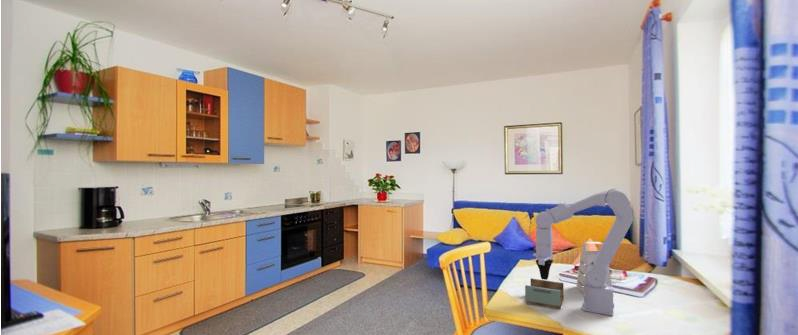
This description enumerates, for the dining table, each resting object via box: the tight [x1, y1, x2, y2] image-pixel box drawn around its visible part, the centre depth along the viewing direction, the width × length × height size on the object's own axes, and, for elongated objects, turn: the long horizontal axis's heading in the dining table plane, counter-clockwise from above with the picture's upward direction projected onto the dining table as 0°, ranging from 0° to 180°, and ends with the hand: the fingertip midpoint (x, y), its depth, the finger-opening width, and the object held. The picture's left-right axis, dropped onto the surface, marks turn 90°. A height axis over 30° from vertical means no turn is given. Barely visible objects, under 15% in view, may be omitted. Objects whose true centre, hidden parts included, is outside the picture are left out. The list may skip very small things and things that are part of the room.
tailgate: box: [524, 284, 560, 306], centre depth 133 cm, size 12×1×6 cm, turn 60°
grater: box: [576, 241, 613, 294], centre depth 149 cm, size 10×10×20 cm
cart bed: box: [525, 278, 565, 310], centre depth 139 cm, size 12×10×6 cm
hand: (544, 279), depth 138 cm, fingers closed
